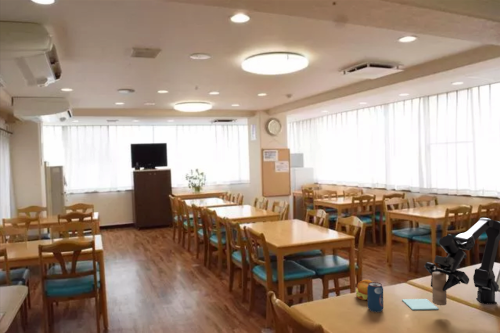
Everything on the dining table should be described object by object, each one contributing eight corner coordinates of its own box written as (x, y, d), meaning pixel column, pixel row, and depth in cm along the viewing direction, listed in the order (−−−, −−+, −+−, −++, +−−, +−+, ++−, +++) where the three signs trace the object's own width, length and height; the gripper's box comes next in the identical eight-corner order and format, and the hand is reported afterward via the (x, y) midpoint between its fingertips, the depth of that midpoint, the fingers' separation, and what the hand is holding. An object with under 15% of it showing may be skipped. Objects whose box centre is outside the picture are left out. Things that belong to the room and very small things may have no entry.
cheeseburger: (374, 293, 202) (375, 276, 199) (378, 306, 191) (380, 288, 189) (354, 293, 203) (354, 275, 200) (357, 305, 192) (358, 287, 190)
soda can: (384, 313, 177) (384, 286, 177) (368, 312, 178) (368, 286, 178) (382, 307, 184) (382, 281, 183) (366, 306, 185) (366, 281, 185)
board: (426, 299, 192) (426, 298, 192) (438, 309, 180) (438, 308, 180) (402, 300, 192) (402, 299, 192) (412, 310, 180) (412, 308, 180)
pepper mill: (442, 300, 175) (442, 271, 175) (448, 305, 170) (448, 275, 169) (430, 300, 175) (430, 271, 175) (436, 305, 170) (436, 275, 169)
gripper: (426, 244, 182) (410, 272, 177) (464, 253, 165) (448, 283, 161) (438, 259, 186) (422, 286, 181) (476, 269, 169) (460, 299, 165)
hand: (437, 288), depth 172 cm, fingers closed on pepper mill, 5 cm apart
